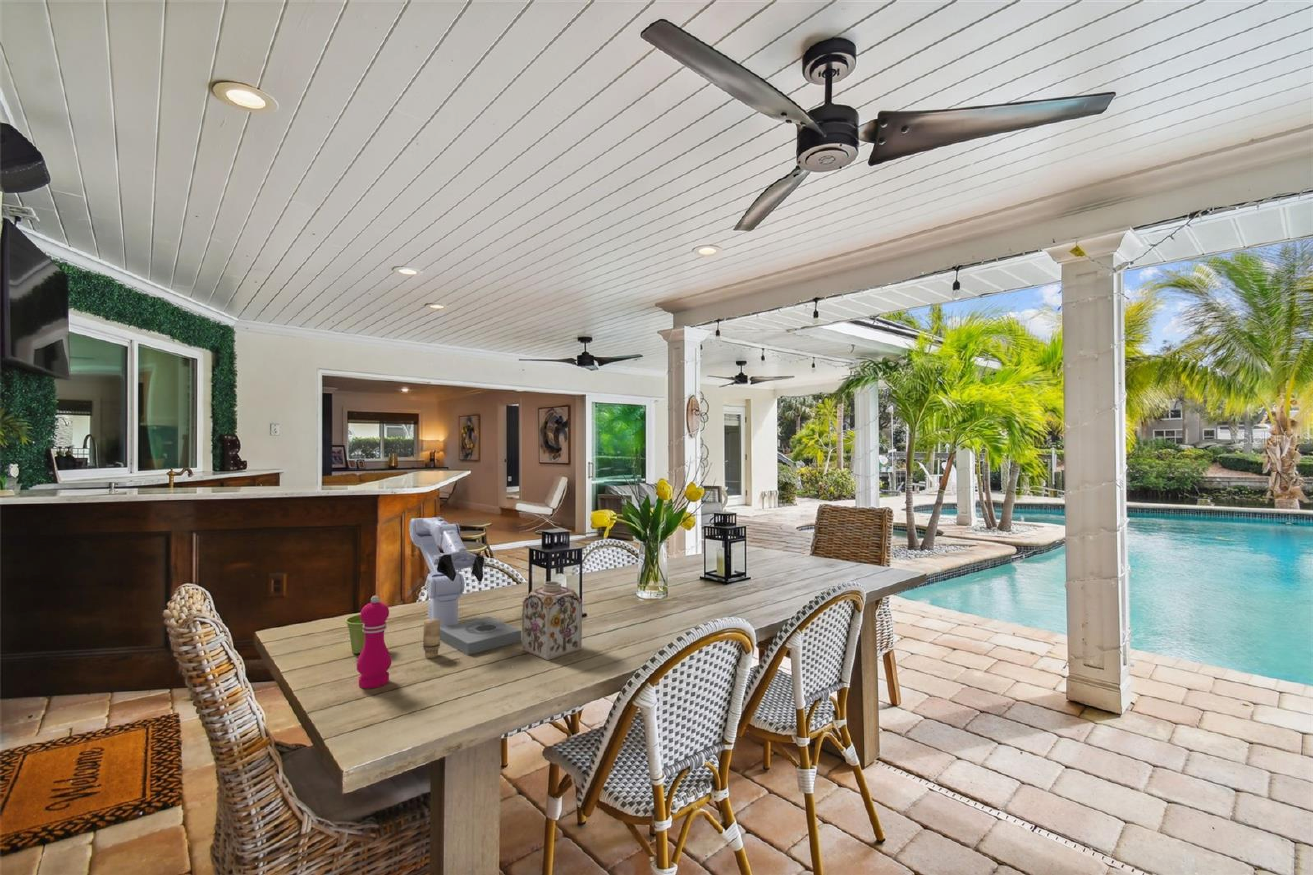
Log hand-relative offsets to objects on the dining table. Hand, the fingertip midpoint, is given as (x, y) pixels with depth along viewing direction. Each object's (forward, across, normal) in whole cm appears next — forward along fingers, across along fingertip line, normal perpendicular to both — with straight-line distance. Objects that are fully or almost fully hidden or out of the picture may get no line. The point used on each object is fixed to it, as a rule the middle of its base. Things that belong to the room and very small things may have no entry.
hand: (467, 578), depth 159 cm
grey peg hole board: (+3, +8, +18) cm, 20 cm away
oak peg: (+8, -6, +18) cm, 21 cm away
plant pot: (-4, -18, +27) cm, 33 cm away
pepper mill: (+18, -22, +17) cm, 33 cm away
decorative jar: (+20, +20, +8) cm, 30 cm away
